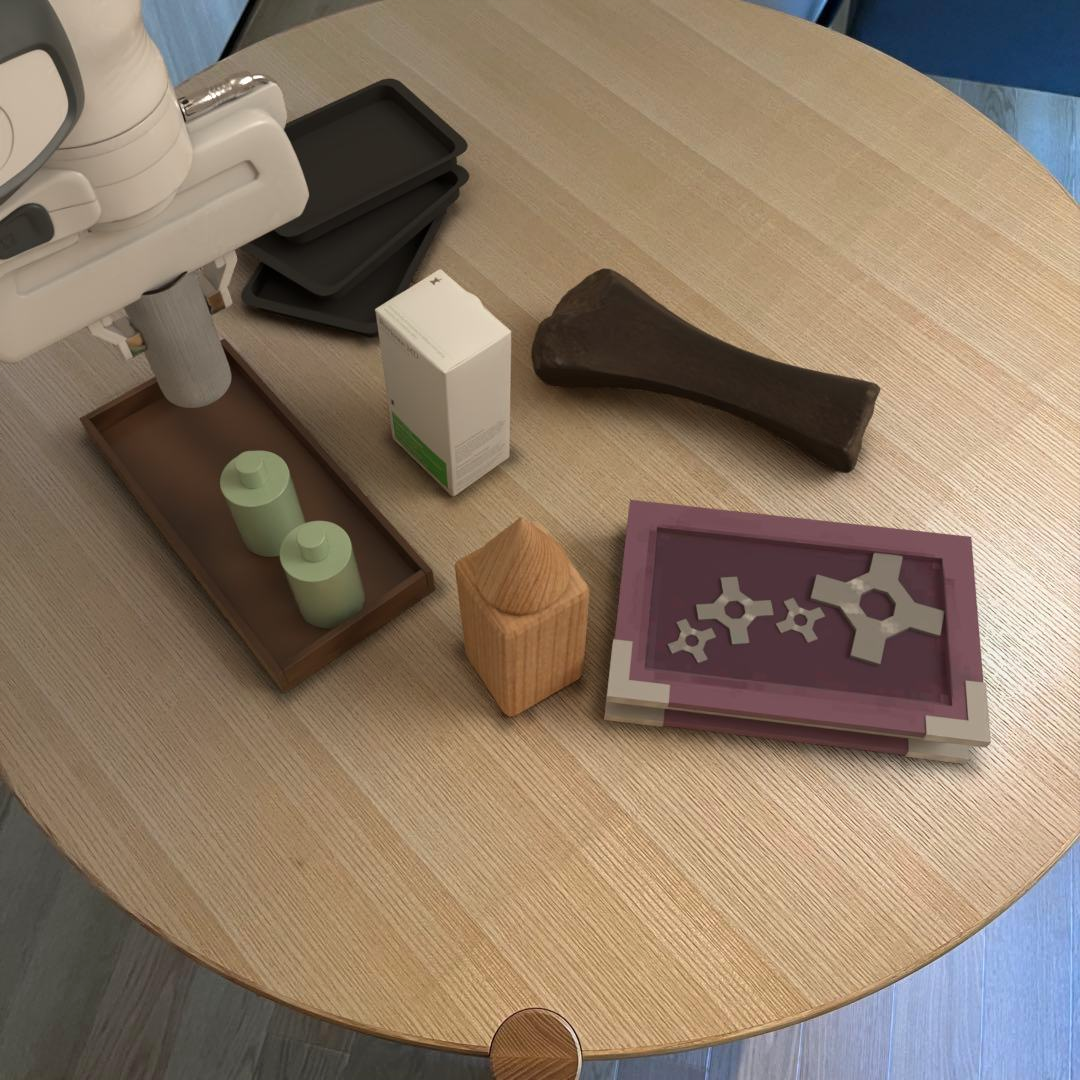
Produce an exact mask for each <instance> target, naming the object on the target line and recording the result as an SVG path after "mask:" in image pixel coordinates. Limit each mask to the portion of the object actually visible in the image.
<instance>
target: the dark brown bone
mask: <svg viewBox="0 0 1080 1080" xmlns="http://www.w3.org/2000/svg"><path fill="white" fill-rule="evenodd" d="M555 305H556V306H555V308H554V309H553V311H552V313H551V315H550V316H547V317H545V318H544V319H543V320H541V321H540V323H539V324H538V326H537V329H536V331H535V335H534V337H533V342H532V345H531V349H530V350H531V351H530V352H531V354H530V358H531V365H532V369H533V371H534V374H535V376H536V377H538V379H539V380H540V381H541V382H543V383H544V384H546V385H547V386H551V387H554V388H566V389H569V388H570V389H623V390H631V391H642V392H649V393H655V394H660V395H665V396H670V397H675V398H678V399H683V400H687V401H690V402H694V403H698V404H701V405H703V406H706V407H710V408H712V409H716V410H719V411H720V412H723V413H726V414H729V415H730V416H734V417H737V418H739V419H741V420H743V421H745V422H748V423H750V424H752V425H754V426H756V427H757V428H760V429H762V430H764V431H766V432H768V433H769V434H772V435H774V436H775V437H777V438H779V439H780V440H782V441H784V442H786V443H788V444H789V445H791V446H793V447H795V448H796V449H797V450H799V451H800V452H802V453H805V454H806V455H808V456H809V457H811V458H812V459H814V460H815V461H817V462H819V463H820V464H821V465H823V466H826V467H827V468H828V469H831V470H834V471H836V472H839V473H842V474H849V473H851V472H852V471H854V470H855V469H856V466H857V462H858V459H859V454H860V452H861V449H862V444H863V437H864V434H865V432H866V429H867V427H868V426H869V424H870V421H871V419H872V417H873V415H874V412H875V406H876V401H877V399H878V396H879V394H880V392H881V386H879V385H878V383H875V382H872V381H868V380H863V379H860V378H854V377H850V376H845V375H840V374H834V373H829V372H823V371H818V370H815V369H809V368H806V367H801V366H797V365H793V364H789V363H785V362H781V361H778V360H774V359H772V358H769V357H765V356H763V355H759V354H757V353H754V352H751V351H748V350H746V349H743V348H741V347H739V346H736V345H733V344H731V343H729V342H726V341H725V340H722V339H720V338H718V337H716V336H714V335H711V334H710V333H707V332H706V331H704V330H702V329H700V328H698V327H697V326H695V325H694V324H692V323H691V322H688V321H687V320H685V319H683V318H682V317H680V316H679V315H677V314H675V312H673V311H672V310H670V309H669V308H668V307H666V306H664V305H663V304H662V303H660V302H659V301H657V300H656V299H654V298H653V297H652V295H649V294H648V293H647V292H646V291H644V290H643V289H642V288H641V287H640V286H638V285H637V284H635V282H633V281H632V280H631V279H629V278H627V277H626V276H624V275H622V274H621V273H619V272H617V270H616V271H615V270H614V269H612V268H600V269H599V270H596V271H594V272H593V273H590V274H588V275H587V276H585V278H584V279H582V280H581V281H580V282H578V284H576V285H575V286H573V287H572V288H570V289H569V290H568V291H567V292H566V293H565V294H564V295H563V296H562V297H561V298H560V300H559V302H558V303H557V304H555Z"/></svg>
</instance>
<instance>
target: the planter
mask: <svg viewBox="0 0 1080 1080" xmlns="http://www.w3.org/2000/svg"><path fill="white" fill-rule="evenodd" d="M123 310H124V311H125V313H126V317H127V318H128V319H129V320H130V322H131V324H132V326H134V327H135V328H136V329H137V330H138V331H139V332H140V334H141V336H142V339H143V343H144V344H145V345H146V348H147V350H146V351H144V352H143V354H144V356H145V358H146V360H147V363H148V364H149V366H150V367H149V368H151V371H152V373H153V375H154V377H155V378H156V380H157V382H158V384H159V386H160V389H161V390H162V392H163V394H164V396H165V397H166V398H167V399H168V400H169V401H170V402H171V403H173V404H175V405H177V406H180V407H185V408H198V407H202V406H206V405H209V404H211V403H213V402H215V401H216V400H218V399H219V398H220V397H221V396H222V395H223V394H224V393H225V392H226V391H227V389H228V388H229V386H230V383H231V371H230V367H229V364H228V361H227V358H226V356H225V353H224V350H223V347H222V345H221V342H220V340H221V339H220V337H219V333H218V331H217V328H216V326H215V323H214V320H213V317H212V315H211V314H210V311H209V309H208V306H207V303H206V300H205V298H204V295H203V292H202V289H201V287H200V284H199V281H198V276H197V273H196V270H195V271H193V272H191V273H189V272H188V271H185V272H183V273H182V274H180V275H179V276H178V277H177V278H176V279H175V280H174V281H173V282H171V283H170V284H168V285H166V286H164V287H162V288H159V289H156V290H151V291H147V292H144V293H143V294H142V295H141V298H140V299H139V300H137V301H135V302H133V303H131V304H129V305H127V306H125V307H124V308H123Z"/></svg>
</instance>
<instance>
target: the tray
mask: <svg viewBox="0 0 1080 1080" xmlns="http://www.w3.org/2000/svg"><path fill="white" fill-rule="evenodd" d="M284 131H285V133H286V135H287V137H288V139H289V141H290V143H291V145H292V147H293V149H294V151H295V154H296V156H297V158H298V161H299V163H300V166H301V169H302V172H303V174H304V177H305V181H306V184H307V187H308V191H309V198H308V201H307V203H306V206H305V208H304V210H303V212H302V214H301V215H300V216H299V217H297V218H295V219H293V220H291V221H289V222H288V223H286V224H284V225H282V226H280V227H278V228H276V229H274V230H272V231H270V232H268V233H266V234H264V235H262V236H260V237H258V238H257V239H255V240H253V241H251V242H249V243H247V244H245V245H243V246H241V247H239V248H238V249H240V250H241V251H242V252H244V253H246V254H247V255H249V256H251V257H253V258H254V259H256V260H258V261H259V263H258V265H257V266H256V268H255V269H254V271H253V272H252V274H251V275H250V277H249V279H248V281H247V282H246V284H245V286H244V287H243V288H242V290H241V294H240V299H241V301H242V302H243V303H244V304H245V305H246V306H249V307H252V308H256V309H257V310H258V311H260V312H262V313H266V314H270V315H274V316H279V317H282V318H287V319H291V320H295V321H299V322H303V323H307V324H311V325H315V326H319V327H324V328H327V329H330V330H331V329H332V330H336V331H341V332H344V333H348V334H352V335H357V336H361V337H366V338H377V337H379V333H378V325H377V318H376V312H375V309H376V308H378V307H379V306H381V305H383V304H384V303H386V302H387V301H389V300H391V299H392V298H394V297H396V296H397V295H399V294H401V293H402V292H404V291H406V290H407V289H409V288H410V285H411V284H412V282H413V279H414V278H415V276H416V273H417V271H418V270H419V268H420V266H421V264H422V262H423V260H424V259H425V256H426V254H427V253H428V250H429V249H430V247H431V245H432V242H433V240H434V238H435V237H436V235H437V233H438V231H439V229H440V227H441V225H442V223H443V221H444V219H445V218H446V215H447V214H448V213H447V212H448V208H449V207H450V206H451V205H453V204H454V203H455V202H456V201H457V200H458V199H459V197H460V195H461V194H460V189H461V188H462V187H463V186H464V185H465V184H466V183H467V182H468V181H469V178H470V173H469V171H468V170H467V169H466V168H465V167H463V166H462V165H459V164H458V157H459V156H461V155H463V154H464V153H465V152H466V151H467V150H468V145H469V144H468V142H467V140H466V139H465V138H464V137H463V136H462V135H461V134H459V133H458V132H457V131H456V130H455V129H454V128H453V127H452V126H450V124H448V123H447V122H446V121H445V120H444V118H442V117H441V116H440V115H438V114H437V113H436V112H435V111H434V110H433V109H432V108H431V107H429V105H427V104H426V103H425V102H424V101H423V100H422V99H420V98H419V97H418V96H417V94H415V93H414V92H413V91H411V90H410V88H409V87H407V86H406V85H405V84H404V83H403V82H401V81H400V80H398V79H395V78H383V79H381V80H378V81H376V82H373V83H371V84H369V85H366V86H365V87H363V88H361V89H358V90H356V91H354V92H351V93H349V94H347V95H344V96H343V97H341V98H338V99H337V100H334V101H332V102H330V103H328V104H325V105H324V106H321V107H319V108H317V109H315V110H312V111H310V112H308V113H306V114H303V115H302V116H299V117H297V118H295V119H293V120H291V121H289V122H286V125H285V128H284Z"/></svg>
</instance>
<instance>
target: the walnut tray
mask: <svg viewBox="0 0 1080 1080" xmlns="http://www.w3.org/2000/svg"><path fill="white" fill-rule="evenodd" d="M220 342H221V345H222V347H223V350H224V353H225V356H226V358H227V361H228V364H229V367H230V371H231V383H230V386H229V388H228V389H227V391H226V392H225V393H224V394H223V395H222V396H221V397H220V398H219V399H218V400H216V401H215V402H213V403H211V404H209V405H206V406H202V407H198V408H185V407H180V406H177V405H175V404H173V403H171V402H170V401H169V400H168V399H167V398H166V397H165V396H164V394H163V392H162V390H161V389H160V386H159V384H158V382H157V380H156V378H155V376H153V377H151V378H149V379H148V380H146V381H144V382H142V383H140V384H139V385H137V386H135V387H133V388H131V389H130V390H127V391H126V392H124V393H122V394H120V395H119V396H117V397H115V398H113V399H111V400H110V401H107V402H106V403H104V404H102V405H100V406H99V407H97V408H95V409H93V410H92V411H90V412H88V413H86V414H84V415H81V417H79V421H80V423H81V426H82V427H83V428H84V430H85V432H86V434H87V435H88V438H89V439H90V442H91V443H92V444H93V445H94V447H95V448H96V449H97V451H98V452H99V453H100V454H101V455H102V457H103V458H104V459H105V461H106V462H107V463H108V465H109V466H110V468H111V469H112V470H113V472H115V474H116V475H117V476H118V478H119V479H120V480H121V482H122V483H123V484H124V486H125V487H126V488H127V489H128V491H129V492H130V493H131V495H132V496H133V497H134V499H135V500H136V502H137V503H138V504H139V506H140V507H141V508H142V510H144V512H145V513H146V514H147V515H148V517H149V519H151V521H152V522H153V524H154V525H155V526H156V527H157V529H158V530H159V532H160V533H161V534H162V535H163V536H164V538H165V539H166V540H167V542H168V543H169V544H170V546H171V547H172V548H173V550H174V551H175V552H176V554H177V555H178V556H179V558H180V559H181V560H182V562H183V563H184V564H185V565H186V567H187V568H188V570H189V571H190V572H191V574H192V575H193V576H194V577H195V579H196V580H197V581H198V583H199V584H200V585H201V587H202V588H203V590H205V592H206V593H207V594H208V596H209V598H211V599H212V601H213V602H214V603H215V605H216V606H217V608H218V609H219V610H220V611H221V613H222V614H223V616H224V617H225V618H226V619H227V621H228V622H229V623H230V625H231V626H232V627H233V629H234V630H235V631H236V633H237V634H238V635H239V636H240V638H241V639H242V640H243V642H244V643H245V644H246V645H247V647H248V648H249V649H250V651H251V652H252V653H253V655H254V656H255V657H256V659H257V660H258V661H259V662H260V664H261V665H262V666H263V668H264V669H265V670H266V671H267V673H268V675H269V676H270V677H271V679H272V680H273V681H274V682H275V683H276V685H277V686H278V687H279V689H280V690H281V691H282V693H283V694H286V693H288V692H289V691H291V690H292V689H294V687H296V686H298V685H299V684H301V683H302V682H304V681H306V680H307V679H308V678H309V677H311V676H312V675H314V674H315V673H316V672H318V671H320V670H321V669H323V668H324V667H325V666H327V665H328V664H329V663H332V662H333V661H334V660H335V659H337V658H339V657H340V656H341V655H343V654H344V653H345V652H347V651H348V650H350V649H351V648H353V647H354V646H356V645H357V644H358V643H360V642H362V641H363V640H364V639H366V638H367V637H369V636H370V635H372V634H374V632H376V631H378V630H379V629H380V628H382V627H384V626H385V625H387V624H388V623H389V622H391V621H392V620H393V619H395V618H396V617H398V616H399V615H401V614H402V613H404V612H405V611H406V610H408V609H409V608H411V607H413V606H414V605H415V604H417V603H419V602H420V601H421V600H423V599H424V598H425V597H427V596H429V595H430V594H431V593H433V592H434V591H435V590H436V586H435V585H436V584H435V578H434V573H433V569H432V568H431V567H430V566H429V564H428V563H427V562H426V561H425V559H423V558H422V557H421V555H419V554H418V552H417V551H416V550H415V548H413V547H412V546H411V545H410V543H409V542H408V541H407V540H406V539H405V538H404V537H403V535H402V534H401V533H400V532H399V530H398V529H396V528H395V527H394V526H393V524H392V523H391V522H390V521H389V520H388V519H387V518H386V516H385V515H384V514H383V513H382V511H380V510H379V509H378V508H377V507H376V505H375V504H374V503H373V502H372V500H370V499H369V497H368V496H367V495H366V494H365V493H364V492H363V491H362V490H361V489H360V488H359V486H358V485H357V484H356V483H355V482H354V480H352V479H351V477H350V476H349V475H348V474H347V473H346V472H345V471H344V469H343V468H342V467H341V466H340V465H339V464H338V463H337V462H336V461H335V460H334V458H333V457H332V456H331V455H330V454H329V453H328V452H327V451H326V449H325V448H323V446H322V445H321V444H320V443H319V442H318V441H317V440H316V438H315V437H314V436H313V435H312V434H311V432H310V431H308V429H307V428H306V427H305V426H304V424H302V423H301V422H300V421H299V419H298V418H297V417H296V416H295V415H294V413H292V411H291V410H290V409H289V408H288V407H287V406H286V405H285V404H284V403H283V401H282V400H281V399H280V398H279V396H277V394H275V392H274V391H272V389H271V388H270V387H269V386H268V385H267V384H266V382H265V381H264V380H263V379H262V378H261V377H260V376H259V375H258V374H257V372H256V371H255V370H254V369H253V368H252V367H251V366H250V365H249V364H248V362H247V361H246V360H245V359H244V358H243V357H242V356H241V354H239V352H238V351H237V350H236V349H235V347H233V346H232V344H231V343H230V342H229V341H228V340H227V339H226V338H225V337H224V338H222V339H220ZM246 451H268V452H271V453H274V454H276V455H278V456H279V457H281V458H282V459H283V460H284V461H285V463H286V464H287V466H288V469H289V472H290V475H291V478H292V481H293V484H294V487H295V490H296V494H297V497H298V500H299V503H300V506H301V509H302V512H303V515H304V518H305V521H306V523H308V522H312V521H327V522H331V523H334V524H336V525H338V526H339V527H341V528H342V529H343V530H344V531H345V532H346V533H347V534H348V536H349V538H350V541H351V544H352V548H353V551H354V555H355V559H356V562H357V566H358V570H359V574H360V577H361V581H362V585H363V588H364V593H365V600H364V604H363V607H362V609H361V610H360V611H359V612H357V613H356V614H354V615H353V616H351V617H350V618H349V619H347V620H346V621H344V622H343V623H341V624H340V625H338V626H337V627H335V628H330V629H325V628H319V627H316V626H314V625H312V624H310V623H308V622H307V621H306V620H305V619H304V618H303V617H302V615H301V614H300V611H299V609H298V606H297V604H296V601H295V598H294V596H293V593H292V591H291V588H290V585H289V583H288V580H287V577H286V575H285V572H284V569H283V567H282V564H281V561H280V556H276V557H265V556H260V555H257V554H255V553H253V552H251V551H250V550H249V549H248V548H247V547H246V546H245V544H244V542H243V540H242V538H241V536H240V533H239V531H238V528H237V526H236V524H235V521H234V519H233V517H232V514H231V512H230V510H229V507H228V505H227V502H226V500H225V498H224V495H223V493H222V491H221V487H220V478H221V474H222V472H223V470H224V468H225V467H226V466H227V464H228V463H229V462H230V461H232V460H233V459H234V458H236V457H237V456H239V455H240V454H241V453H243V452H246Z"/></svg>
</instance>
